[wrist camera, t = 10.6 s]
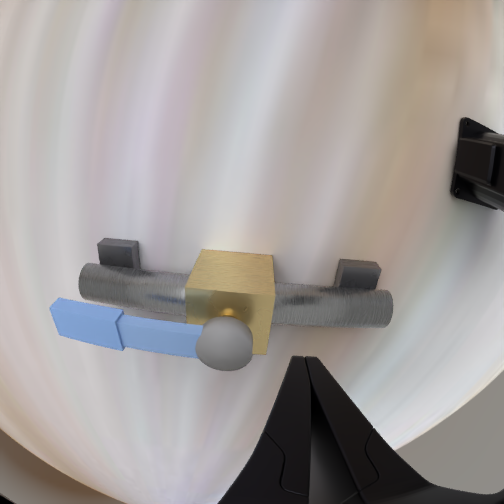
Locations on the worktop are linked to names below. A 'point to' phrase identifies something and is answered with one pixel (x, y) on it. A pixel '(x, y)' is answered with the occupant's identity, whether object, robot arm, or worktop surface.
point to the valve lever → (156, 334)
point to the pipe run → (237, 291)
